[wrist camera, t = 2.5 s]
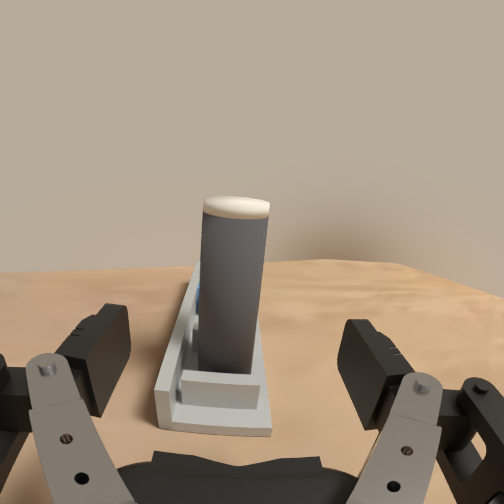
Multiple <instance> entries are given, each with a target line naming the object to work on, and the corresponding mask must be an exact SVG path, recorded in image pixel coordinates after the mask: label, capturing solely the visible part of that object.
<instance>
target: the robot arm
mask: <svg viewBox="0 0 504 504" xmlns="http://www.w3.org/2000/svg"><path fill="white" fill-rule="evenodd" d="M130 352H131V339H130V330H129V320H128V311H127V307H126V306H125V305H116V304H108V303H106V304H105V305H104V306H103V307H102V308H101V310H100V311H99V312H98V313H97V314H96V315H91V316H89V317H87V318H85V319H83V320H82V321H81V322H80V323H79V324H78V325H77V327H76V329H74V330H73V331H72V332H71V334H70V335H69V336H68V337H67V338H66V340H65V341H64V342H63V343H62V344H61V346H60V347H59V348H58V349H57V350H56V352H55V353H45V354H40V355H38V356H35V357H34V358H32V359H31V360H30V361H29V362H28V363H27V365H26V367H7V364H6V362H5V359H4V357H3V355H2V354H0V493H1V491H2V489H3V486H4V484H5V482H6V480H7V478H8V475H9V473H10V471H11V469H12V467H13V465H14V463H15V461H16V458H17V456H18V454H19V452H20V450H21V448H22V446H23V444H24V442H25V440H26V438H27V437H28V435H29V433H30V432H33V435H34V439H35V443H36V447H37V451H38V455H39V458H40V462H41V465H42V469H43V472H44V475H45V479H46V482H47V485H48V488H49V491H50V493H51V496H52V499H53V502H54V504H423V502H424V499H425V496H426V492H427V489H428V486H429V482H430V479H431V475H432V471H433V467H434V463H435V459H436V460H437V462H438V464H439V466H440V468H441V470H442V472H443V474H444V476H445V479H446V481H447V483H448V485H449V487H450V489H451V491H452V494H453V496H454V498H455V500H456V502H457V504H504V397H503V396H502V395H501V394H500V392H499V391H498V390H497V389H496V388H495V387H494V386H493V385H492V384H491V383H490V382H488V381H486V380H484V379H481V378H476V377H472V378H468V379H466V380H465V381H464V383H463V385H462V387H461V389H460V390H448V389H443V388H442V385H441V383H440V382H439V381H438V380H437V379H436V378H434V377H433V376H431V375H428V374H425V373H420V372H415V371H414V370H413V368H412V367H411V366H410V364H409V363H408V362H407V360H406V359H405V358H404V356H403V355H402V354H400V353H401V352H400V351H399V350H398V349H397V348H396V346H395V345H394V343H393V342H392V341H391V340H390V338H388V337H387V336H385V335H384V334H382V333H381V332H377V331H376V329H375V328H374V327H373V325H372V324H371V323H370V321H369V320H367V319H349V320H347V322H346V324H345V328H344V332H343V336H342V340H341V344H340V348H339V352H338V358H337V365H338V370H339V373H340V375H341V377H342V379H343V382H344V384H345V386H346V388H347V391H348V393H349V395H350V398H351V400H352V402H353V404H354V407H355V409H356V411H357V414H358V416H359V418H360V420H361V423H362V425H363V427H364V430H365V431H366V430H373V429H378V431H379V434H378V436H377V438H376V440H375V442H374V444H373V446H372V448H371V450H370V452H369V454H368V456H367V458H366V460H365V462H364V464H363V466H362V468H361V470H360V472H359V474H358V476H357V477H355V476H353V475H350V474H348V473H345V472H342V471H339V470H335V469H330V468H324V467H322V464H321V461H320V457H319V456H318V457H303V458H280V459H276V460H271V461H266V462H261V463H256V464H251V465H245V466H232V465H228V464H224V463H220V462H216V461H212V460H208V459H205V458H201V457H198V456H194V455H184V454H175V453H167V452H160V451H154V453H153V457H152V461H151V462H141V463H135V464H130V465H126V466H123V467H120V468H118V469H116V468H115V466H114V464H113V462H112V460H111V458H110V457H109V455H108V453H107V451H106V449H105V447H104V445H103V443H102V441H101V439H100V436H99V434H98V432H97V430H96V428H95V426H94V423H93V421H92V419H91V417H90V416H95V417H99V418H101V417H102V414H103V412H104V410H105V408H106V406H107V403H108V401H109V399H110V397H111V395H112V393H113V391H114V388H115V386H116V384H117V382H118V380H119V378H120V376H121V374H122V372H123V370H124V368H125V366H126V364H127V361H128V359H129V357H130ZM476 432H478V433H479V435H480V436H481V438H482V439H483V441H484V443H485V445H486V456H485V458H484V459H483V460H482V459H481V457H480V455H479V454H478V452H477V450H476V449H475V447H474V445H473V444H472V442H471V440H472V438H473V437H474V435H475V434H476Z"/></svg>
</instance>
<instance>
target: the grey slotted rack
mask: <svg viewBox="0 0 504 504" xmlns="http://www.w3.org/2000/svg"><path fill="white" fill-rule="evenodd" d="M199 282H200V260H198V261H197V263H196V266H195V269H194V272H193V274H192V277H191V280H190V283H189V286H188V288H187V291H186V294H185V297H184V300H183V303H182V306H181V309H180V311H179V314H178V317H177V320H176V323H175V326H174V329H173V332H172V335H171V338H170V341H169V344H168V347H167V350H166V353H165V356H164V359H163V363H162V366H161V369H160V372H159V375H158V378H157V382H156V385H155V388H154V394H155V402H156V410H157V417H158V424H159V428H160V429H167V430H175V431H183V432H193V433H203V434H216V435H233V436H271V432H272V422H271V414H270V406H269V398H268V390H267V382H266V375H265V367H264V359H263V351H262V343H261V335H260V327H259V319H258V317H257V325H256V334H255V343H254V351H253V360H252V368H251V375H248V374H230V373H215V372H203V371H198V316H199Z"/></svg>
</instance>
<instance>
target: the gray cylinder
mask: <svg viewBox="0 0 504 504" xmlns="http://www.w3.org/2000/svg"><path fill="white" fill-rule="evenodd" d="M269 206H270V203H268V202H266V201H263V200H259V199H253V198H246V197H237V196H209V197H205V198H204V204H203V220H202V238H201V257H200V282H199V316H198V371H203V372H215V373H230V374H248V375H251V368H252V360H253V351H254V343H255V334H256V325H257V317H258V308H259V299H260V290H261V281H262V272H263V263H264V254H265V244H266V235H267V226H268V216H269Z"/></svg>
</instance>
